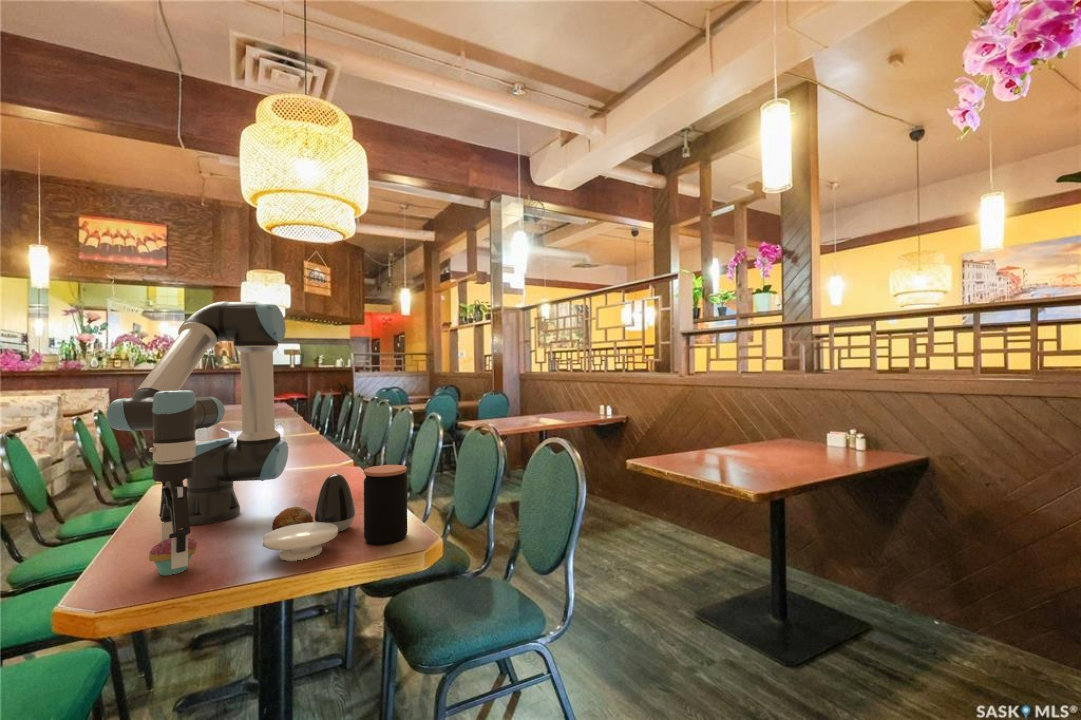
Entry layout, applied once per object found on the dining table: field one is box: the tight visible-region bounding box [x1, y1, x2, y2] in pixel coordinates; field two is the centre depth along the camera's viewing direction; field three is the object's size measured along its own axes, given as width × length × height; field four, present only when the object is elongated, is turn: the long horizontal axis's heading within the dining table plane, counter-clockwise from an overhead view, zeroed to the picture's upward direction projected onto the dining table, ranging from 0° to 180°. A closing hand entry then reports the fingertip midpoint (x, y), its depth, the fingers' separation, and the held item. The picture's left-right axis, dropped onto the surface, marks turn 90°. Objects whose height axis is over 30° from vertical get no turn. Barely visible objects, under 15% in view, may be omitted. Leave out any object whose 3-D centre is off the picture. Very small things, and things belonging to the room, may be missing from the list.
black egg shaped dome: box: [314, 473, 356, 533], centre depth 134 cm, size 10×10×15 cm
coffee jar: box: [363, 464, 408, 546], centre depth 126 cm, size 11×11×18 cm
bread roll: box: [271, 506, 314, 531], centre depth 135 cm, size 10×10×8 cm
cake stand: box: [262, 521, 339, 562], centre depth 116 cm, size 16×16×5 cm
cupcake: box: [148, 529, 198, 576], centre depth 107 cm, size 9×8×12 cm
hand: (173, 558), depth 107 cm, fingers open, 13 cm apart
